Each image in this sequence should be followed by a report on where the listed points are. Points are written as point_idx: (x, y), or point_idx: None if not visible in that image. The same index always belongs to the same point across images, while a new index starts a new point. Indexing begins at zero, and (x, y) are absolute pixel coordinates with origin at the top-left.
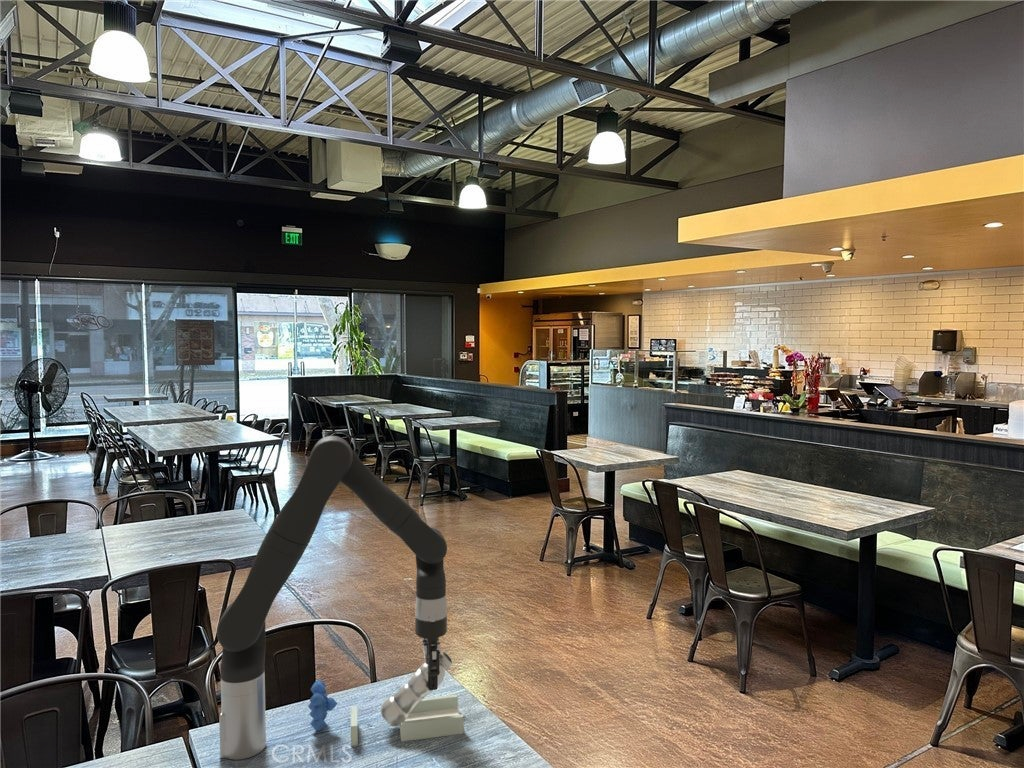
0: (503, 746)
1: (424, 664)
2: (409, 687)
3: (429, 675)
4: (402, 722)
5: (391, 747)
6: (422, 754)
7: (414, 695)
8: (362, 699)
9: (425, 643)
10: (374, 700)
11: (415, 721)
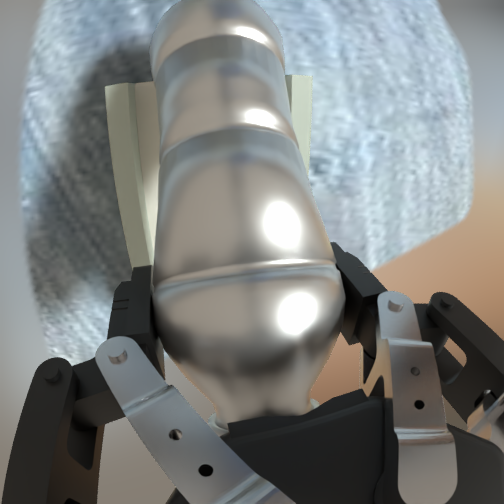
0: (93, 355)
1: (262, 330)
2: (188, 137)
3: (42, 368)
4: (121, 91)
5: (90, 59)
6: (42, 167)
7: (160, 163)
8: (411, 3)
9: (384, 498)
10: (401, 30)
11: (120, 147)
